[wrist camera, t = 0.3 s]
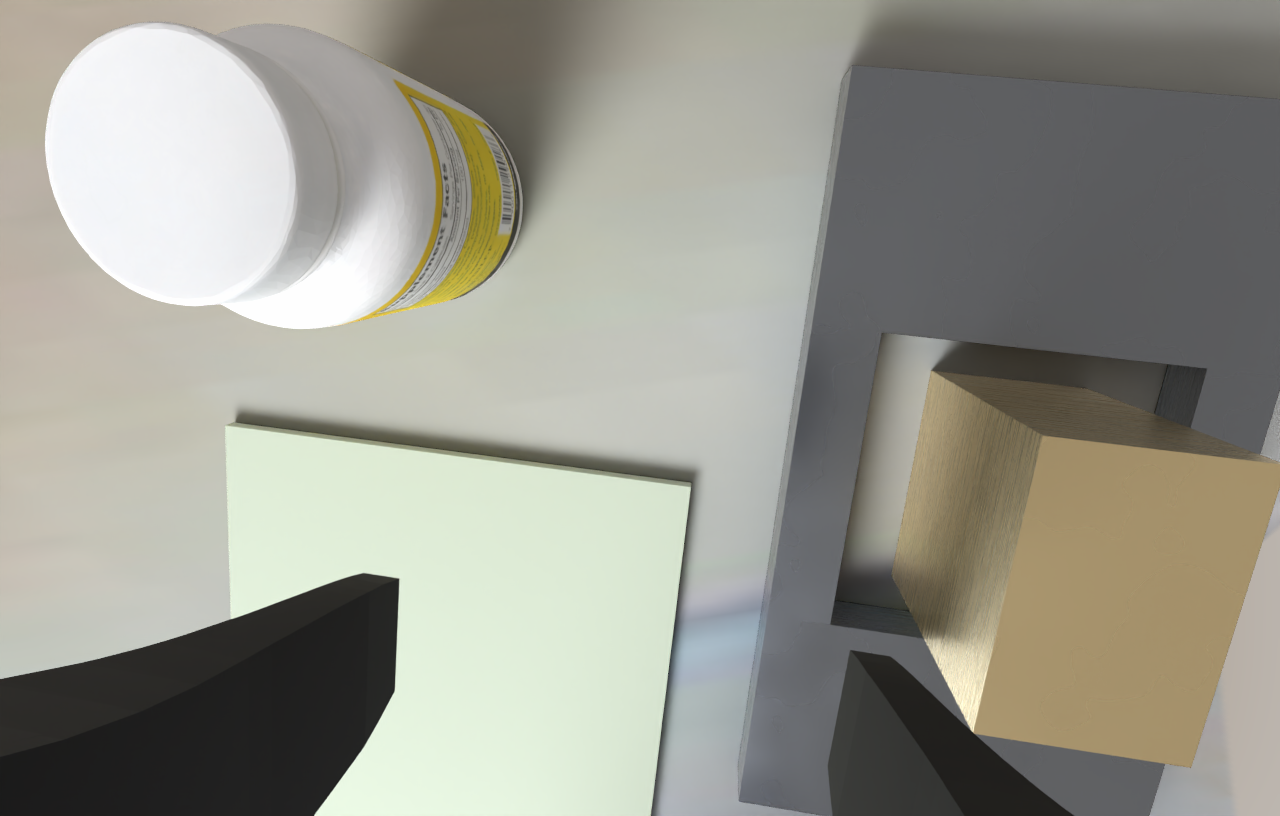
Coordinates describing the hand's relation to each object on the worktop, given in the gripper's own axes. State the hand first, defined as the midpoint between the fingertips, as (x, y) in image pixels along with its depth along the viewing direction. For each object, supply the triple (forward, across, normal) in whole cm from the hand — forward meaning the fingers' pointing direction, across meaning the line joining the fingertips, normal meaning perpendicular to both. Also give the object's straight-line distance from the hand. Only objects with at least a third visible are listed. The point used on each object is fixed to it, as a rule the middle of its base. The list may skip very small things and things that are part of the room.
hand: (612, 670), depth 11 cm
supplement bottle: (+10, +7, -7) cm, 14 cm away
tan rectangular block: (+10, -9, -1) cm, 13 cm away
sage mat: (+10, +6, +8) cm, 14 cm away
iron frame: (+10, -9, -1) cm, 13 cm away
